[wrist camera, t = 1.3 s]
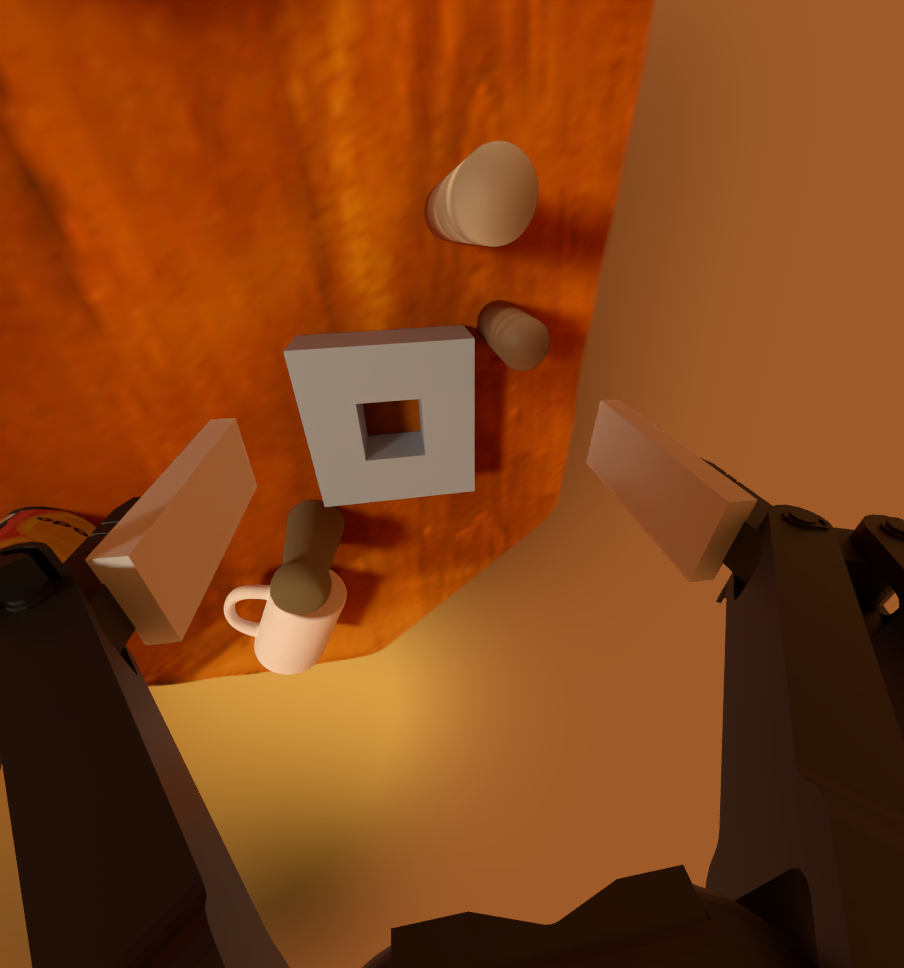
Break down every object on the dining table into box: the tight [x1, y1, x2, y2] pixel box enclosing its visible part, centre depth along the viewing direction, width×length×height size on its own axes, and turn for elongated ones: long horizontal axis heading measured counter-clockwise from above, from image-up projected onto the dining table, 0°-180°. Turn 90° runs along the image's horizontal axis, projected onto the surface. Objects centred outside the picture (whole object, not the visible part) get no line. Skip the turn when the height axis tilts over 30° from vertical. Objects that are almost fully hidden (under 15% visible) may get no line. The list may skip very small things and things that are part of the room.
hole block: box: [283, 325, 475, 507], centre depth 34 cm, size 14×14×5 cm
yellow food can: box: [0, 507, 96, 563], centre depth 34 cm, size 9×9×12 cm
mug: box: [224, 569, 347, 675], centre depth 44 cm, size 12×10×8 cm
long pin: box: [425, 141, 538, 247], centre depth 23 cm, size 4×4×15 cm
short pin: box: [477, 300, 550, 371], centre depth 30 cm, size 4×4×8 cm
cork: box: [270, 500, 345, 614], centre depth 38 cm, size 6×6×11 cm
